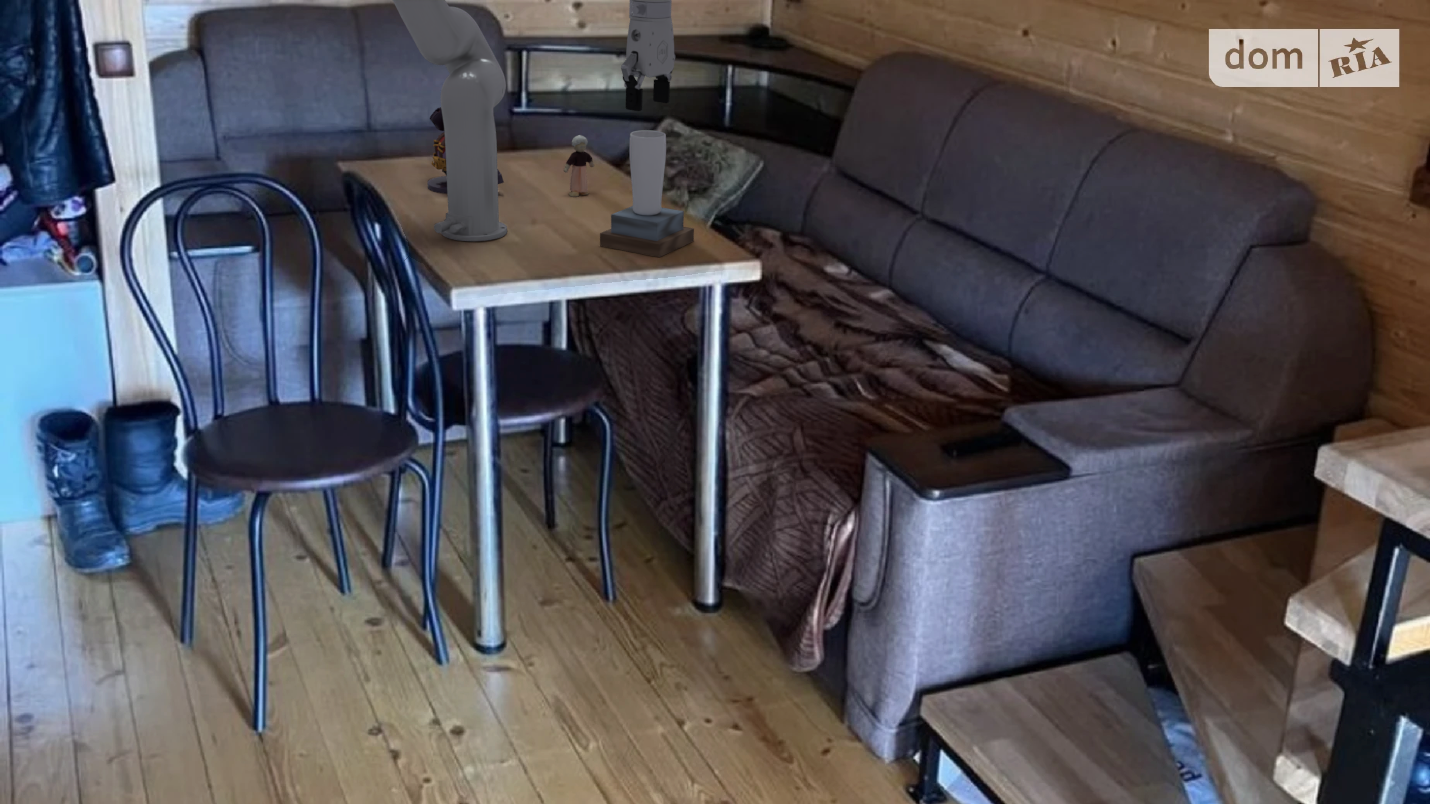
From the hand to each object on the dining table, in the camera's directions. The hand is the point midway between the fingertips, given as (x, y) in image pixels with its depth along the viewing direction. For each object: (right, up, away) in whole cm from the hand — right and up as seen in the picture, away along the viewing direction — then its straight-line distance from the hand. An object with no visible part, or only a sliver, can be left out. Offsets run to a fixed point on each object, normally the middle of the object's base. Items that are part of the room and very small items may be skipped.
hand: (647, 106), depth 264 cm
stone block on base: (-1, -24, +10) cm, 26 cm away
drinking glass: (-1, -19, +8) cm, 20 cm away
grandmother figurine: (-16, -10, +43) cm, 47 cm away
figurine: (-42, -8, +45) cm, 62 cm away
